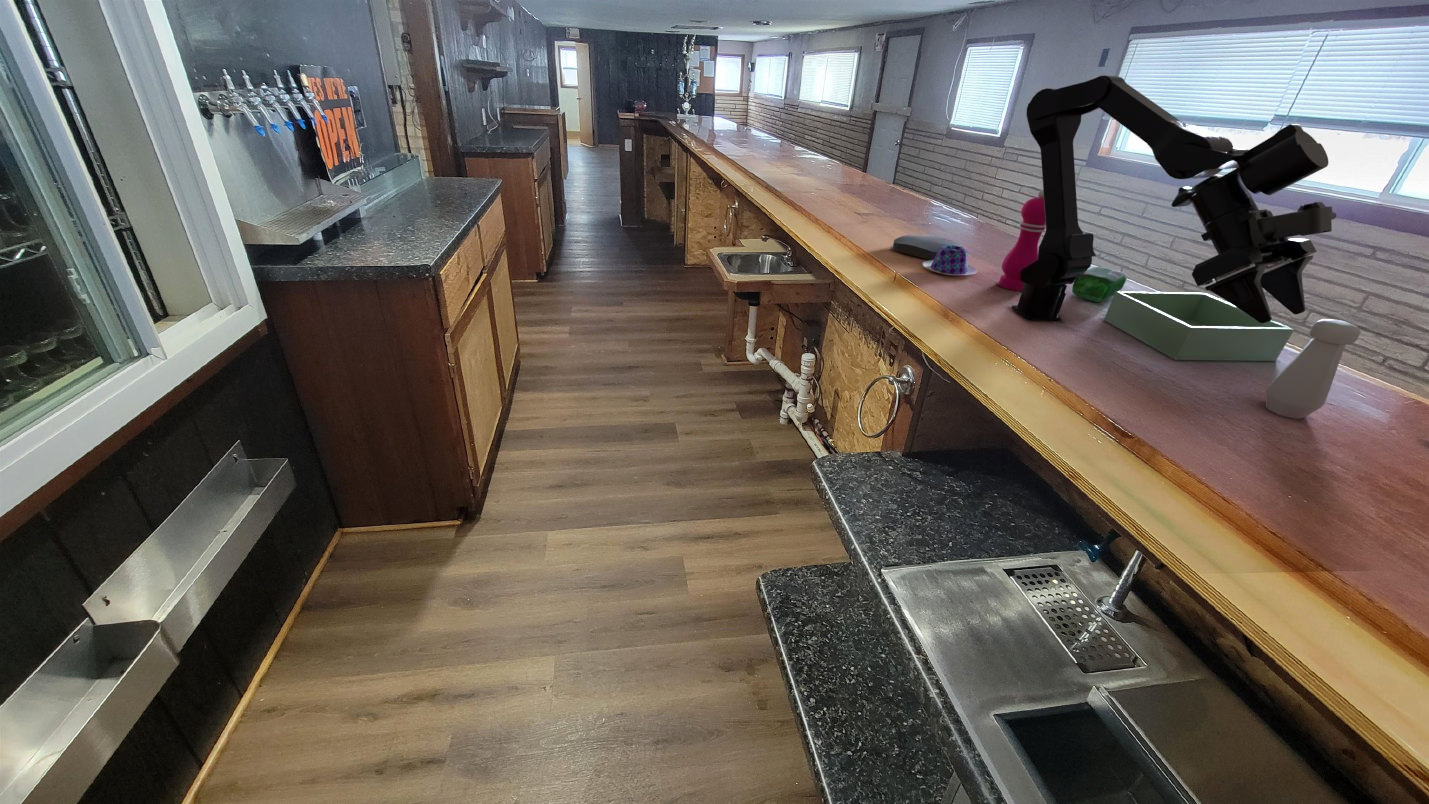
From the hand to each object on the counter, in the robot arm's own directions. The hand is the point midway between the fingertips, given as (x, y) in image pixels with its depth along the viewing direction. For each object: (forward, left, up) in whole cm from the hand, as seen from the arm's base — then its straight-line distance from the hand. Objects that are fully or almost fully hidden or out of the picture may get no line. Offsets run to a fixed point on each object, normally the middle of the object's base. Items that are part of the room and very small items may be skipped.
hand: (1283, 317), depth 75 cm
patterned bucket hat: (-18, +59, -12) cm, 63 cm away
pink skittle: (-8, +48, -12) cm, 50 cm away
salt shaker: (+2, -5, -12) cm, 13 cm away
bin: (+8, +20, -12) cm, 25 cm away
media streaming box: (-17, +75, -12) cm, 78 cm away
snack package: (+7, +43, -12) cm, 45 cm away
